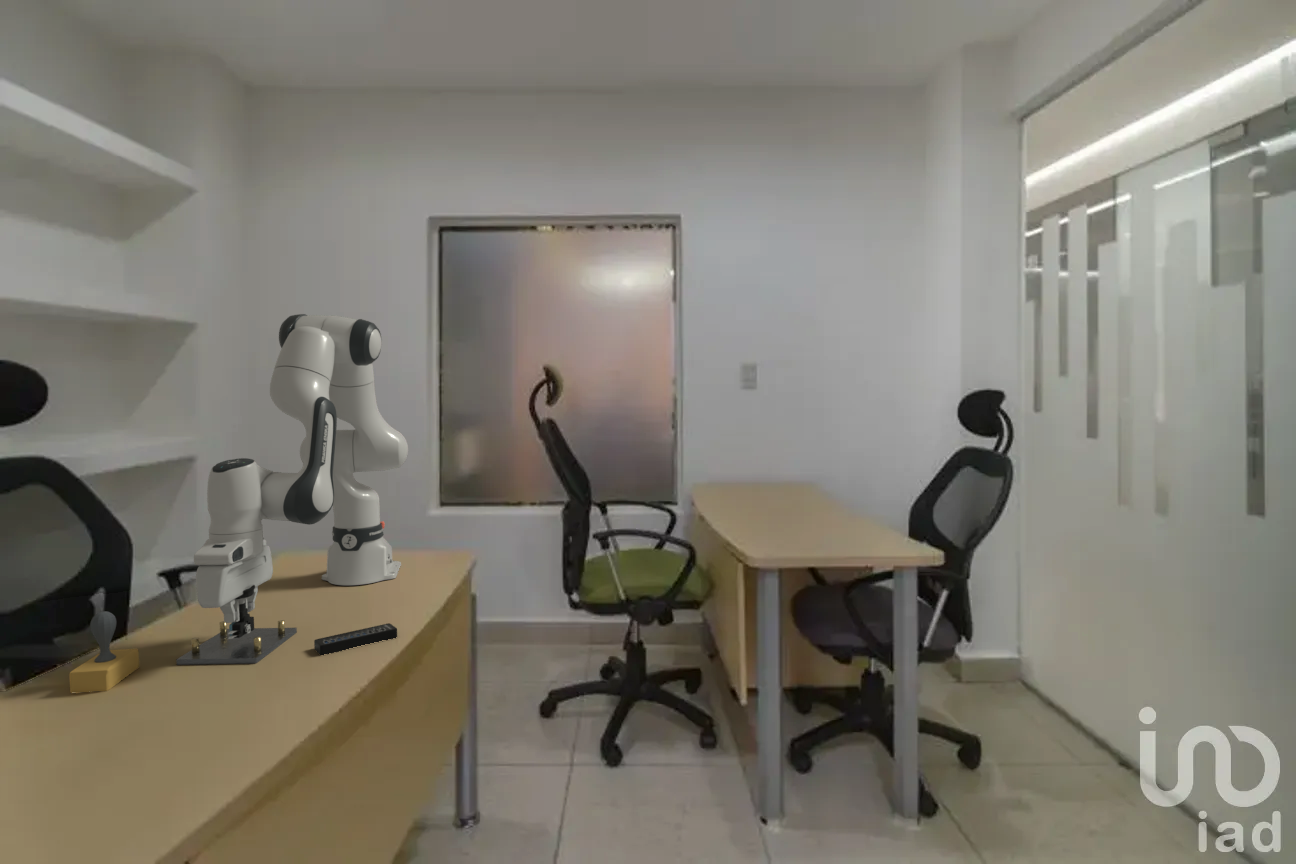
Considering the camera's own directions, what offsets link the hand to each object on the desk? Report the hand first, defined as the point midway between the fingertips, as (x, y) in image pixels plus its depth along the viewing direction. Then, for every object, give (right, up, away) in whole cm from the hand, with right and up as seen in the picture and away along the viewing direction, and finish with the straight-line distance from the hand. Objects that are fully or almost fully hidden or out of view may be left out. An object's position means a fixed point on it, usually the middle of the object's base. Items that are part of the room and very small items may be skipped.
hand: (239, 616), depth 133 cm
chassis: (0, -6, 0) cm, 6 cm away
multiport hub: (+21, -7, +3) cm, 22 cm away
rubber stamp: (-14, -7, -14) cm, 22 cm away
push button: (0, -4, 0) cm, 4 cm away
